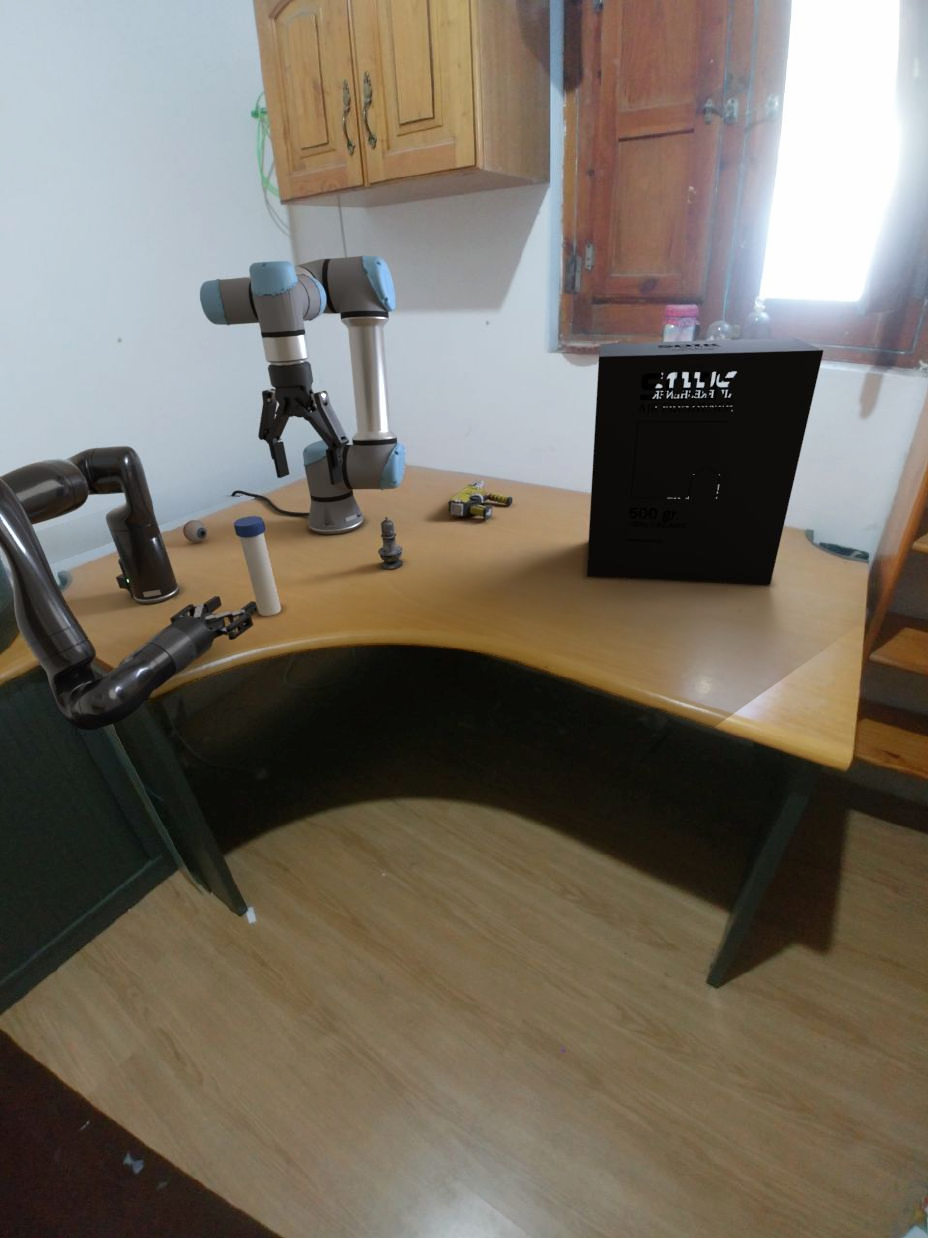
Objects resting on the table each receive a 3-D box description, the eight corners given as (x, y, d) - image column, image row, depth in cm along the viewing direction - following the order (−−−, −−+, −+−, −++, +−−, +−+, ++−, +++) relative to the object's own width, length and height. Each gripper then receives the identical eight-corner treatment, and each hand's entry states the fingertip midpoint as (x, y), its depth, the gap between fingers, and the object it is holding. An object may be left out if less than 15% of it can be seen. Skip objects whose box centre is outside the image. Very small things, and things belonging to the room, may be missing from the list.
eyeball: (196, 547, 160) (190, 526, 157) (181, 543, 163) (175, 522, 160) (215, 539, 164) (209, 518, 161) (200, 536, 167) (194, 515, 164)
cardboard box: (751, 546, 143) (793, 337, 120) (770, 584, 126) (823, 350, 103) (589, 540, 150) (600, 343, 128) (586, 576, 133) (598, 356, 111)
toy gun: (520, 484, 182) (474, 477, 186) (498, 508, 162) (446, 499, 166) (519, 500, 184) (473, 492, 188) (497, 524, 164) (445, 516, 168)
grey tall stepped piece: (400, 569, 141) (394, 521, 135) (376, 568, 143) (369, 520, 137) (407, 559, 146) (402, 512, 140) (384, 558, 147) (378, 511, 141)
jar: (285, 609, 128) (265, 521, 118) (267, 618, 125) (245, 529, 115) (272, 603, 130) (252, 517, 120) (254, 612, 127) (232, 524, 117)
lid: (271, 530, 119) (268, 519, 118) (246, 539, 115) (243, 528, 114) (255, 525, 122) (252, 514, 121) (230, 533, 118) (227, 522, 117)
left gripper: (204, 633, 100) (263, 589, 113) (138, 622, 104) (202, 581, 118) (216, 670, 104) (271, 623, 117) (152, 658, 108) (212, 615, 121)
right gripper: (357, 359, 105) (372, 479, 115) (252, 358, 115) (275, 468, 126) (330, 365, 99) (348, 491, 110) (222, 364, 110) (249, 478, 120)
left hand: (236, 602), depth 117 cm, fingers open, 8 cm apart
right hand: (309, 479), depth 118 cm, fingers open, 13 cm apart
